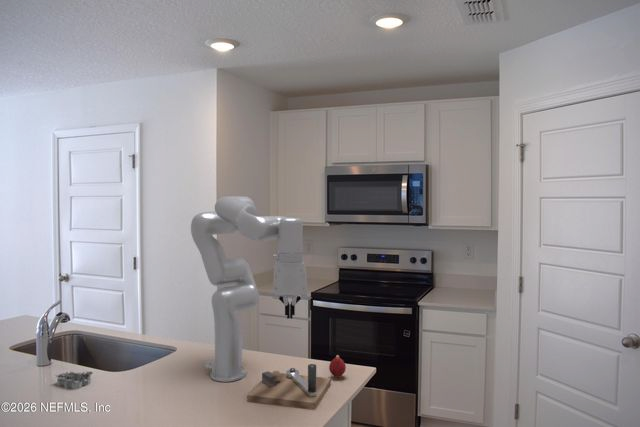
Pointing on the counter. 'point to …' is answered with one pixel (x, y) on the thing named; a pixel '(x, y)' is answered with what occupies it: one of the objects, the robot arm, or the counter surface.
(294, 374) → the lever
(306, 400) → the board
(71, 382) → the egg carton
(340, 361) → the onion
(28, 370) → the counter surface
